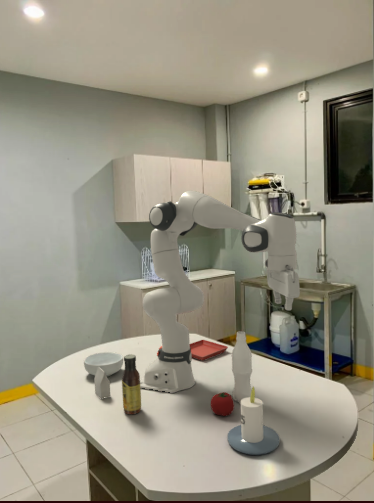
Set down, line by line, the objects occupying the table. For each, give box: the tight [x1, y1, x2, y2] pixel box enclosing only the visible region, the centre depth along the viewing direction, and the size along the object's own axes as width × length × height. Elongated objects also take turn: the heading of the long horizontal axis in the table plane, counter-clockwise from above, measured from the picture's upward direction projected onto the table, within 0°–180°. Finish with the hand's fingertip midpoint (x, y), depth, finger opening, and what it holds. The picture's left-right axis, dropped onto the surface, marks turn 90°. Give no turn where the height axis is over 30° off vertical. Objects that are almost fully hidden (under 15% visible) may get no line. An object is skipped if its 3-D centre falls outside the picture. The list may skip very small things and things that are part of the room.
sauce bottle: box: [121, 353, 142, 415], centre depth 139 cm, size 7×6×20 cm
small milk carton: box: [94, 367, 111, 400], centre depth 154 cm, size 4×7×10 cm, turn 31°
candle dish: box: [226, 424, 281, 456], centre depth 118 cm, size 15×15×2 cm
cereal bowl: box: [83, 351, 124, 377], centre depth 175 cm, size 17×17×7 cm
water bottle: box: [231, 330, 253, 405], centre depth 144 cm, size 7×7×25 cm
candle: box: [240, 386, 264, 443], centre depth 117 cm, size 6×6×15 cm
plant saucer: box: [190, 339, 229, 362], centre depth 196 cm, size 18×18×3 cm
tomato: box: [210, 391, 235, 417], centre depth 136 cm, size 8×8×7 cm
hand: (283, 306), depth 129 cm, fingers open, 8 cm apart
